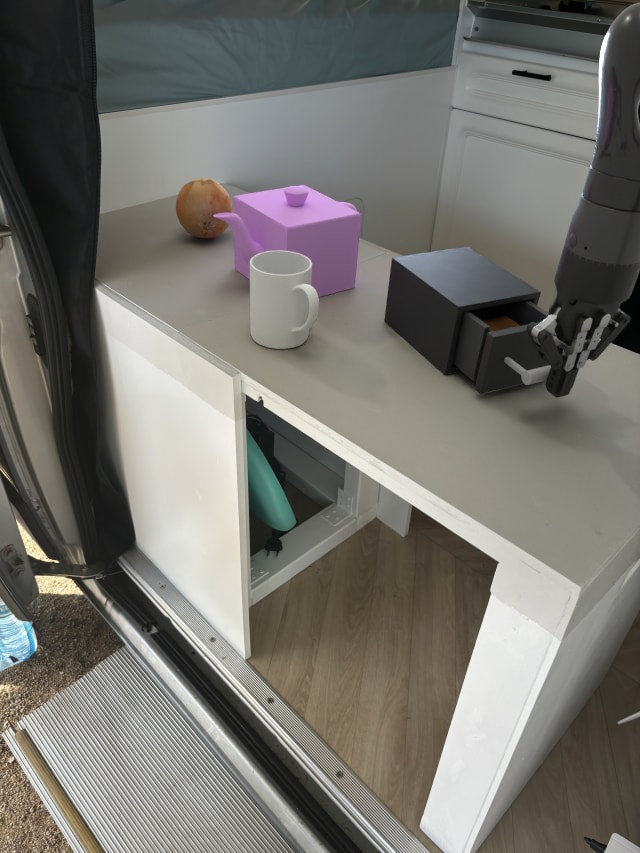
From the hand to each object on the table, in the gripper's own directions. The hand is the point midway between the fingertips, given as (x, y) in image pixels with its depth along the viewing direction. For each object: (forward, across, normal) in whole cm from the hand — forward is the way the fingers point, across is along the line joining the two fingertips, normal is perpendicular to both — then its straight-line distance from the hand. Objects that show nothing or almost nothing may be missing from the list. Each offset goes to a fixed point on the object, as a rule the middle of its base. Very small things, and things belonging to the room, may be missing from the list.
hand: (556, 392), depth 74 cm
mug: (+4, -22, +27) cm, 35 cm away
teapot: (+4, -14, +45) cm, 48 cm away
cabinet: (+4, 0, +20) cm, 20 cm away
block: (+2, 0, +11) cm, 11 cm away
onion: (+4, -20, +67) cm, 70 cm away
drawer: (+3, 0, +11) cm, 11 cm away
